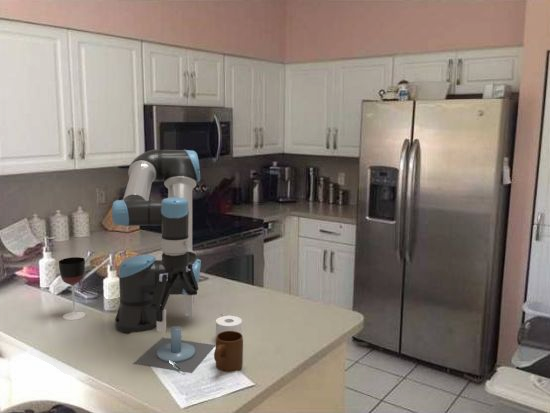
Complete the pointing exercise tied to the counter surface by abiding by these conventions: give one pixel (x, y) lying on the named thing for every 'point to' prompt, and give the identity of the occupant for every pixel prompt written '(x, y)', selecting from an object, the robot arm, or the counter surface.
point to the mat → (186, 366)
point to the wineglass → (72, 280)
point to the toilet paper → (228, 324)
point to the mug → (229, 351)
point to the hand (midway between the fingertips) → (175, 323)
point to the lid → (176, 348)
